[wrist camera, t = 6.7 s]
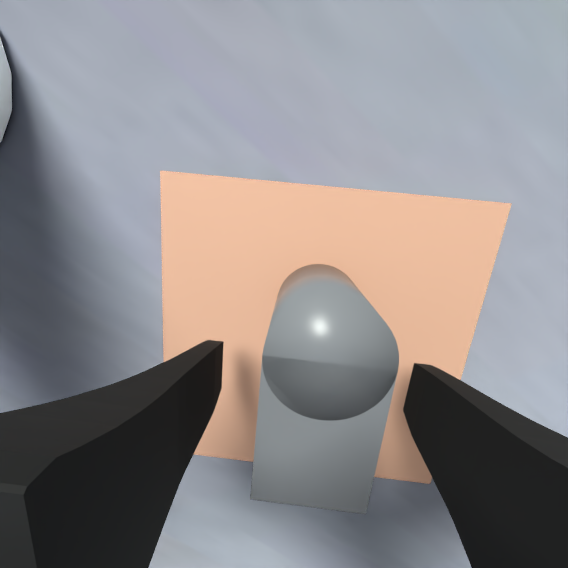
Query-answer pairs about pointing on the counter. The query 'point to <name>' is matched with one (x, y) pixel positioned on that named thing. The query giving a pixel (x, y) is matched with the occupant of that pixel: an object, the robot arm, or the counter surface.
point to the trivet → (330, 251)
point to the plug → (322, 394)
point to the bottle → (4, 91)
